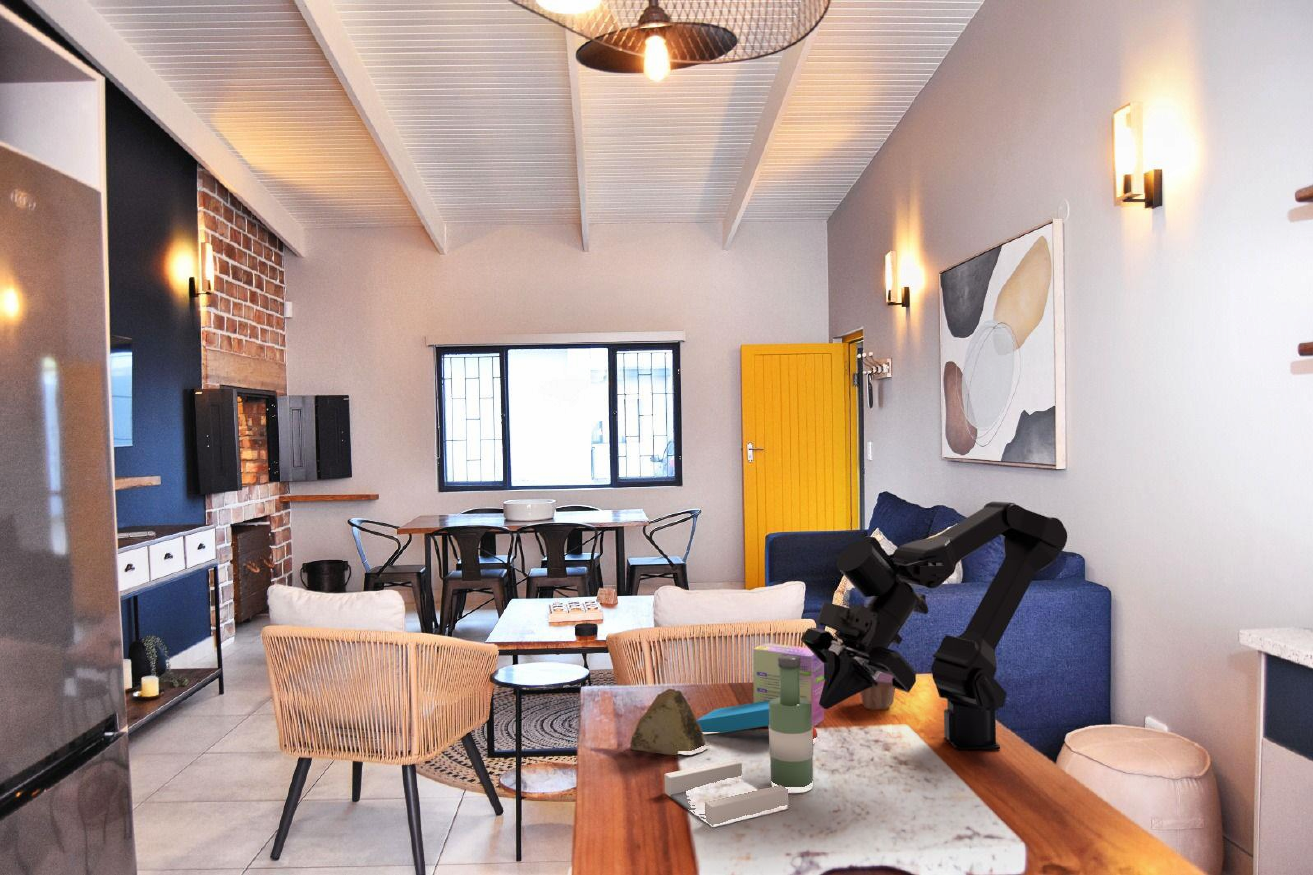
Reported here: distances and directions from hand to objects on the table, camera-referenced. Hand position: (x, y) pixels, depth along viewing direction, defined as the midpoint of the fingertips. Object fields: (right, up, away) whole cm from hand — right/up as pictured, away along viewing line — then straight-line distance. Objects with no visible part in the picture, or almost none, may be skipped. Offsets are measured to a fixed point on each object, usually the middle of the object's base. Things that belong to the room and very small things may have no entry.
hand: (822, 707), depth 120 cm
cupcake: (+16, -10, +32) cm, 37 cm away
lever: (-7, -10, +18) cm, 21 cm away
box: (-1, -10, +25) cm, 27 cm away
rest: (-14, -10, -7) cm, 19 cm away
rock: (-21, -10, +12) cm, 26 cm away
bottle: (-5, -10, -3) cm, 11 cm away
